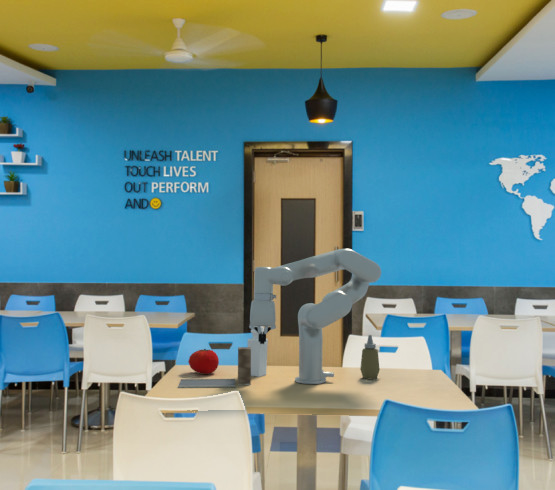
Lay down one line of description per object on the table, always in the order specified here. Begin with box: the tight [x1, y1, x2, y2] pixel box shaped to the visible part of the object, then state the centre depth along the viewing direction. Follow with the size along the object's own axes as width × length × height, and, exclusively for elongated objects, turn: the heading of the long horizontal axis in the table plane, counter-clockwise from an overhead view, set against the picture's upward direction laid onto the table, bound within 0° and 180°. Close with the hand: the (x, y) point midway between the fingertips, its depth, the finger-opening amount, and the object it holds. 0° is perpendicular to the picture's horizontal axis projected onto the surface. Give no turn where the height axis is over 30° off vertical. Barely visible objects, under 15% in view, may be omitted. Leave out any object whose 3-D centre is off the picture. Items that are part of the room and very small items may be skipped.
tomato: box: [188, 348, 220, 375], centre depth 253 cm, size 13×12×11 cm
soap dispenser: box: [247, 326, 269, 378], centre depth 250 cm, size 6×6×22 cm
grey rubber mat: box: [177, 378, 236, 389], centre depth 231 cm, size 22×14×1 cm, turn 94°
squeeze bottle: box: [360, 334, 381, 380], centre depth 245 cm, size 8×8×18 cm
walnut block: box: [237, 346, 252, 386], centre depth 232 cm, size 5×5×14 cm
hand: (262, 343), depth 233 cm, fingers closed
